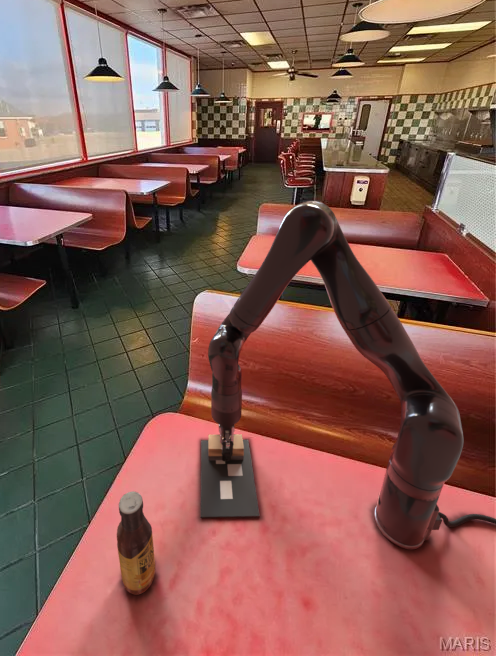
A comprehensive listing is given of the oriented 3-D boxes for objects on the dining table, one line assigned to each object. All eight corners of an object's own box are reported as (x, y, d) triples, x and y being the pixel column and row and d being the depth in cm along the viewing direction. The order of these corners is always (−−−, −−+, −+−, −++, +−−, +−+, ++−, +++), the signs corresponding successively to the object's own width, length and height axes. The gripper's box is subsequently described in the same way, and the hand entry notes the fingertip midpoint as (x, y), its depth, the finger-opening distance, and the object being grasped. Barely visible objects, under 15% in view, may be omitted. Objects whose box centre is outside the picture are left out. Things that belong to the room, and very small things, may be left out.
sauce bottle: (149, 600, 59) (139, 529, 52) (116, 592, 60) (103, 521, 53) (160, 558, 65) (154, 489, 58) (131, 551, 66) (121, 483, 59)
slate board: (248, 440, 91) (248, 439, 91) (259, 517, 72) (259, 516, 72) (201, 441, 91) (201, 440, 91) (200, 518, 72) (200, 516, 72)
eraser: (241, 445, 89) (242, 434, 87) (243, 460, 85) (243, 448, 83) (208, 445, 89) (208, 434, 87) (208, 460, 85) (208, 449, 83)
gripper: (245, 423, 74) (242, 476, 80) (239, 380, 87) (237, 429, 93) (211, 423, 74) (212, 477, 80) (210, 380, 87) (211, 429, 93)
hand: (225, 450), depth 87 cm, fingers closed on eraser, 4 cm apart
